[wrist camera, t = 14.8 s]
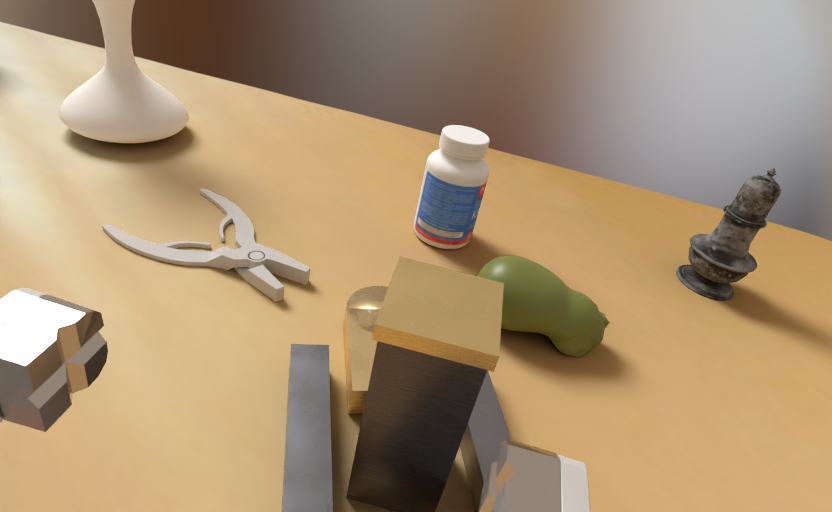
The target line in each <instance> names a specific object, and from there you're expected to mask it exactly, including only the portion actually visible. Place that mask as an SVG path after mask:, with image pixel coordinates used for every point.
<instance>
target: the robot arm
mask: <svg viewBox="0 0 832 512" xmlns="http://www.w3.org/2000/svg"><path fill="white" fill-rule="evenodd" d="M103 326H104V324H103V320H102V315H101V313H99V312H97V311H94V310H91V309H88V308H85V307H82V306H79V305H76V304H73V303H71V302H68V301H65V300H62V299H59V298H56V297H53V296H50V295H47V294H44V293H41V292H38V291H35V290H32V289H29V288H26V287H23V288H20V289H16V290H13V291H12V292H10V293H9V294H7V295H6V296H5V297H3V298H2V299H1V300H0V423H1V422H2V419H3V420H7V421H10V422H14V423H17V424H20V425H24V426H27V427H31V428H34V429H37V430H41V431H44V432H46V431H47V430H48V429H49V428H50V427H51V426H52V425H53V424H54V423H55V421H56V420H57V419H58V418H59V417H60V416H61V415H62V414H63V413H64V412H65V411H66V410H67V409H68V408H69V407H70V406H71V405H72V394H73V393H75V392H77V391H80V390H82V389H85V388H87V387H89V386H90V385H91V383H92V382H93V381H94V380H95V379H96V378H97V377H98V376H99V374H100V372H101V370H102V368H103V366H104V365H105V363H106V359H107V353H108V349H107V342H106V341H105V339H104V338H103V337H102V336H101V334H100V333H99V332H98V331H99V330H100V329H101V328H102V327H103ZM479 512H591V511H590V499H589V486H588V473H587V467H586V465H585V463H583V462H580V461H577V460H573V459H570V458H567V457H564V456H561V455H557V454H556V453H553V452H550V451H546V450H543V449H539V448H536V447H533V446H529V445H526V444H523V443H519V442H516V441H513V440H509V439H505V440H504V441H503V442H502V444H501V446H500V448H499V451H498V461H497V462H494V463H492V464H491V466H490V468H489V470H488V472H487V475H486V478H485V481H484V485H483V488H482V494H481V499H480V507H479Z"/></svg>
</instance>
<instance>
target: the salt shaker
mask: <svg viewBox="0 0 832 512" xmlns="http://www.w3.org/2000/svg"><path fill="white" fill-rule="evenodd" d="M767 172H768V174H767V175H763V176H752V177H750V178H748V179H747V180H746V181H745V182H744V184H743V186H742V188H741V189H740V191H739V193H738V194H737V196H736V198H735V199H734V201H733V203H732V205H729V206H726V207H725V208H724V212H725V215H724V216H723V218H722V220H721V221H720V223H719V225H718V227H717V228H716V229H715V230H714V231H713V232H712V233H711V234H710V235H708V234H697V235H694V236H692V238H691V239H690V245H691V246H690V248H689V261H690V263H691V265H682V266H680V267H679V268H678V269H677V271H676V274H677V276H678V278H679V280H680V281H681V282H682V283H683V284H684V285H685V286H686V287H688V288H689V289H691V290H692V291H694V292H696V293H698V294H700V295H702V296H704V297H707V298H710V299H714V300H722V301H724V300H729V299H731V298H732V297H733V295H734V290H733V288H732V286H731V285H730V284H729V283H733V282H737V281H739V280H740V279H742V278H743V277H745V276H747V274H748V272H752V271H754V270H755V269H756V267H757V263H756V260H755V259H754V257H753V256H752V255H751V254H750V253H749V252H748V250H749V246H750V244H751V242H752V240H753V238H754V237H755V235H756V234H757V232H758V231H759V229H760V228H764V227H766V225H767V223H766V221H765V220H764V219H765V218H766V216H767V215H768V213H769V211H770V210H771V208H772V207H773V205H774V203H775V202H776V201H777V199H778V197H779V196H780V193H781V189H780V187H779V185H778V184H777V183H776V182H775V181H774V179H773V178H772V177H773V176H774V175H776V174H775V169H774V168H773V169H771V170H770V171H767Z"/></svg>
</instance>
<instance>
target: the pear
mask: <svg viewBox="0 0 832 512" xmlns="http://www.w3.org/2000/svg"><path fill="white" fill-rule="evenodd" d="M477 276H478V277H482V278H486V279H489V280H493V281H497V282H501V283H504V289H503V305H502V321H501V328H502V329H506V330H511V331H520V332H537V333H541V334H544V335H546V336H548V337H549V338H550V340H551V341H552V342H553V344H554V345H555V346H556V348H557V349H558V350H559V351H560V352H562V353H563V354H566V355H572V356H575V357H580V356H582V355H584V354H586V352H587V351H588V350H589V349H591V348H593V347H595V346H596V345H598V344H599V343H600V342H601V341H602V339H603V334H604V329H605V327H607V325H608V323H610V322H609V321H608V320H607V318H606V317H605V314H603V313H601V312H600V311H598V307H597V305H596V304H595V303H594V302H593V301H592V300H591V299H590V298H588V297H587V296H586V295H584V294H582V293H580V292H577V291H574V290H572V289H570V288H569V287H567V286H566V285H565V284H564V283H563V281H562V280H561V279H560V278H558V277H557V276H556V275H555V274H553V273H552V272H551V271H549V270H548V269H546V268H544V267H543V266H541V265H539V264H537V263H535V262H533V261H530V260H528V259H525V258H522V257H518V256H511V255H506V256H500V257H497V258H495V259H493V260H491V261H489V262H488V263H487V264H486V265H485V266H484V267H483V268H482V269H481V270H480V272H479V274H478V275H477Z"/></svg>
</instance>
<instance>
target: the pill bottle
mask: <svg viewBox="0 0 832 512" xmlns="http://www.w3.org/2000/svg"><path fill="white" fill-rule="evenodd" d="M439 143H440V144H439V147H440V149H439V150H436V151H434V152H433V153H432V154H430V156H429V157H428V159H427V163H426V168H425V173H424V178H423V182H422V187H421V192H420V197H419V201H418V206H417V210H416V215H415V220H414V232H415V234H416V235H417V236H418V238H420V239H421V240H422V241H424V242H425V243H427V244H429V245H432V246H435V247H438V248H443V249H457V248H461V247H463V246H465V245H466V244H467V243H468V242H469V241H470V238H471V236H472V232H473V229H474V225H475V222H476V218H477V215H478V211H479V208H480V204H481V200H482V197H483V193H484V190H485V187H486V183H487V179H488V176H489V168H488V165H487V164H486V162H485V161H484V160H483V158H484V157H485V155H486V154H487V149H488V145H489V137H488V136H487V135H486V134H484V133H483V132H481V131H479V130H476V129H474V128H470V127H466V126H460V125H451V126H446V127H444V128H443V130H442V133H441V137H440V141H439Z"/></svg>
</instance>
